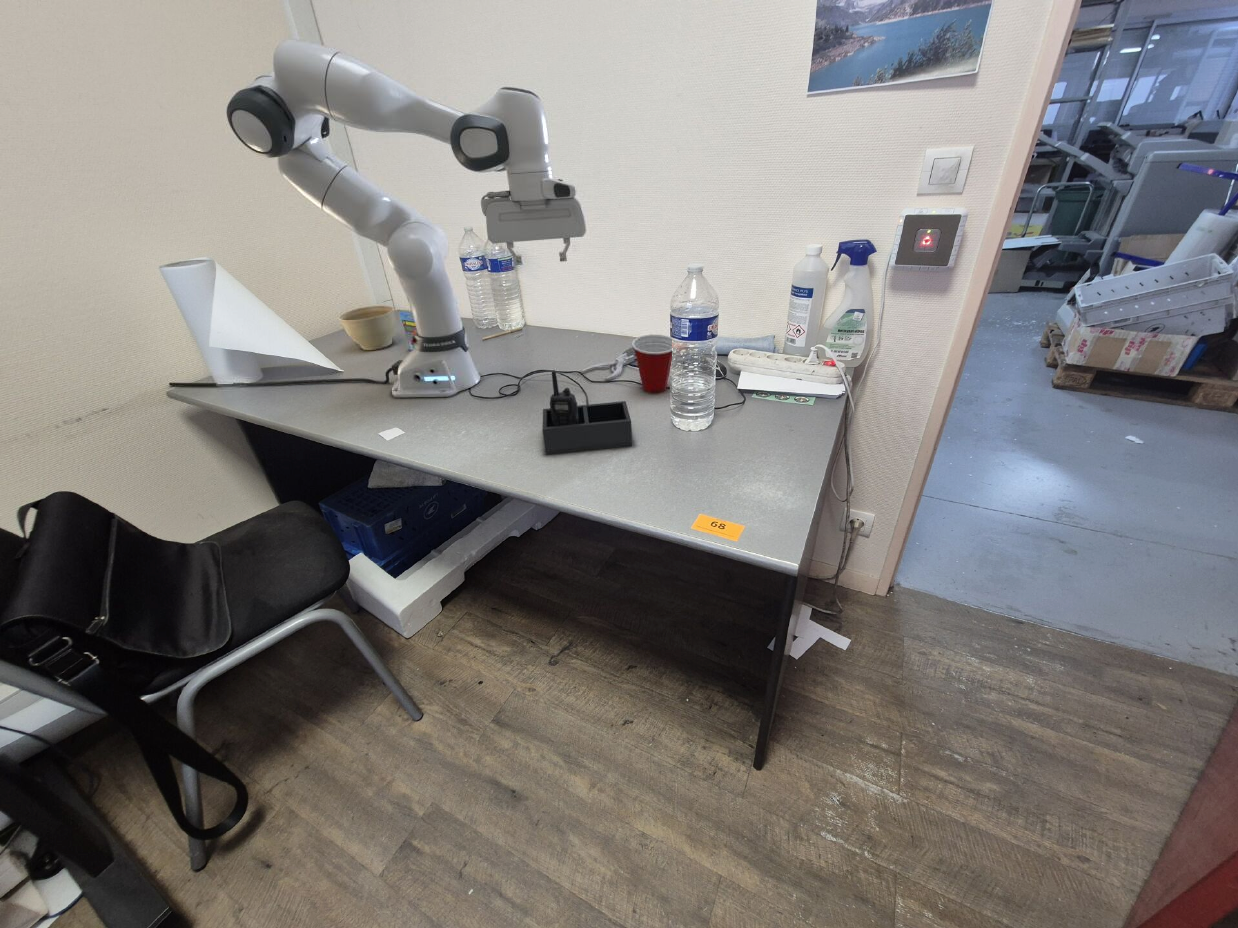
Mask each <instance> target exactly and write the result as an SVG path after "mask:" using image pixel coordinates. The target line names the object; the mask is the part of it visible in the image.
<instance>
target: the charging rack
mask: <svg viewBox="0 0 1238 928" xmlns="http://www.w3.org/2000/svg"><path fill="white" fill-rule="evenodd" d="M577 407H578V419H579V424H574V425H564V426H554V427H553V421H552V414H551V410H550V407H548V408H543V409H542V426H541V427H542V429H541V430H542V436H543V437H542V438H543V443H544V450H545V455H546V456H547V455H558V454H568V453H576V452H585V451H595V450H606V449H607V450H608V449H615V448H626V447H633V432H632V431H633V430H632V428H633V427H632V419H631V415H630V412H629V409H628V405H627V401H626V400H622V401H612V402H601V403H591V404H582V405H581V404H579V405H577Z"/></svg>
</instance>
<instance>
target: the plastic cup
mask: <svg viewBox="0 0 1238 928" xmlns="http://www.w3.org/2000/svg"><path fill="white" fill-rule="evenodd" d="M672 338H673V337H671V336H668V335H664V334H656V333H655V334H644V335H640V336H637V337H635V338H634V339H633V340H632V342H631V347H632V348H633V350H634V354H635V358H636V362H637V368H638V372H639V377H640V381H641V386H642V389H643V391H645V392H647V393H651V394H657V393H662V392H665V390H667V387H668V381H669V377H670V372H671V366H672V361H673V357H672Z"/></svg>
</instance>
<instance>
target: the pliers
mask: <svg viewBox="0 0 1238 928" xmlns="http://www.w3.org/2000/svg"><path fill="white" fill-rule="evenodd" d="M635 358H636V357H635V355H634V354H633V355H629V356H628V353H627V352H624V353H622V354H620V355H619V356H617V357H615V360H614V361H610V362H602V363H596V364H593V365H590V366H587V367H585V368H583V369H581V371H580V373H581V375H582V374H585V373H587V372H590V371H594V370H609V369H610V368H611V374H610V375H609V376H607V377H605V382H609V381H611V380H613V379H615V378H617V377H619V376H620V374H621V373H622V371H623V367H624V366H627V365H629V364H631V363H633V362H635ZM614 366H616V369H615V368H614Z"/></svg>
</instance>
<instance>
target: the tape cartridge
mask: <svg viewBox="0 0 1238 928" xmlns="http://www.w3.org/2000/svg"><path fill="white" fill-rule="evenodd" d="M398 312H399V316H400V320H401V322H402V325H403V329H404V332H405V335H406V339H407V343H408V346H409V350H410V351H412V350H413V349H414V347H413V345H411V342H410V341H411V337H412V336H413V335H412V334H413V332H414V331H415V330H417V329H416V325H415V322H414V318H413V315H412V312H406V311H400V310H398ZM409 317H411V318H409Z"/></svg>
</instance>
